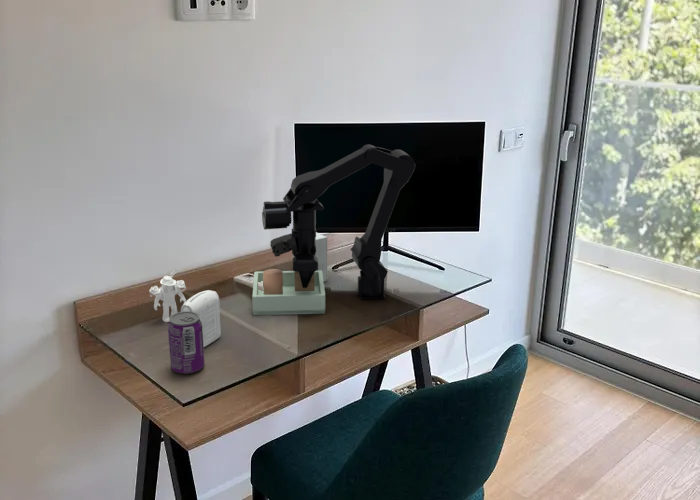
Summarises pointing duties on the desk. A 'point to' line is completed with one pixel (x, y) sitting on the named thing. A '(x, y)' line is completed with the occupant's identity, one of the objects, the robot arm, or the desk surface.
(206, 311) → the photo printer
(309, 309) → the tote
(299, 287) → the walnut block
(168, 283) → the flower shoulder figurine
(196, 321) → the beverage can
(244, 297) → the desk surface
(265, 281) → the terracotta cylinder
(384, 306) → the desk surface
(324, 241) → the small box
